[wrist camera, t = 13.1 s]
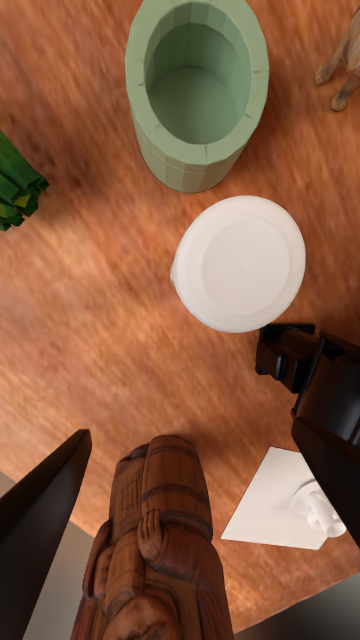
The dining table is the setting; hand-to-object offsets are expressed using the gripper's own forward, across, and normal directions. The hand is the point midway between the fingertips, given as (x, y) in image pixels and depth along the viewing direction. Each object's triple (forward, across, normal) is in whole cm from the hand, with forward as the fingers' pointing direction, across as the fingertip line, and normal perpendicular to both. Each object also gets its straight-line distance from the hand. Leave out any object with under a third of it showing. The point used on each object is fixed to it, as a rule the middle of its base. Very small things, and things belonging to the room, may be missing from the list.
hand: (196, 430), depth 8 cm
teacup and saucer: (+13, -20, +30) cm, 38 cm away
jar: (+13, -1, -19) cm, 23 cm away
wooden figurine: (+13, +3, +18) cm, 23 cm away
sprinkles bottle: (+13, -1, -7) cm, 15 cm away
